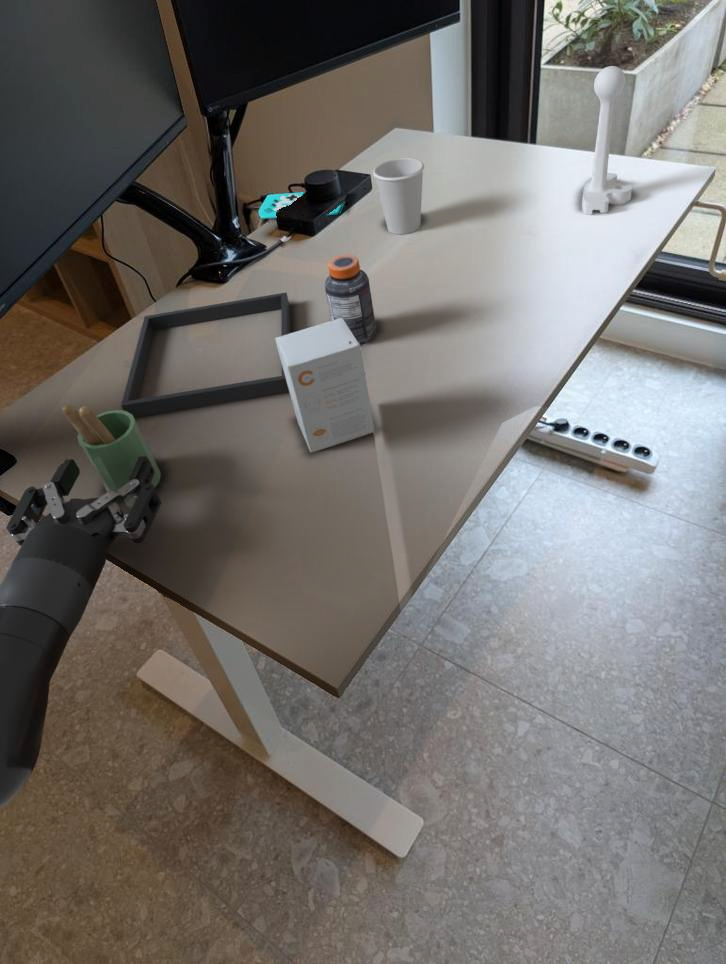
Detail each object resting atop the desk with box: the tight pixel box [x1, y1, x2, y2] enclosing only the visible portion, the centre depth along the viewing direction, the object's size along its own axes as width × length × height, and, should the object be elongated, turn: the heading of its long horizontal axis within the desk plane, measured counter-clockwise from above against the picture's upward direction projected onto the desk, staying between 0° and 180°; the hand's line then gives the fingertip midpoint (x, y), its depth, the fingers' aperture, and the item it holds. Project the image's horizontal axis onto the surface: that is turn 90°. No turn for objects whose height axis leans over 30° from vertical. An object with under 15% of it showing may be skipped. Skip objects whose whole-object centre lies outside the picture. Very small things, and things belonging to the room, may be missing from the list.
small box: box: [274, 318, 376, 453], centre depth 77 cm, size 8×6×13 cm
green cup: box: [76, 409, 162, 502], centre depth 77 cm, size 6×6×9 cm
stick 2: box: [78, 405, 116, 444], centre depth 73 cm, size 1×1×14 cm
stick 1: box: [61, 403, 103, 445], centre depth 74 cm, size 1×1×14 cm
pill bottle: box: [324, 254, 377, 346], centre depth 92 cm, size 6×6×11 cm
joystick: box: [581, 65, 633, 216], centre depth 107 cm, size 11×8×20 cm
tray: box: [120, 292, 291, 419], centre depth 95 cm, size 22×22×3 cm
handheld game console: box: [258, 191, 346, 219], centre depth 128 cm, size 10×16×1 cm, turn 81°
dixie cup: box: [372, 157, 425, 235], centre depth 114 cm, size 8×8×10 cm
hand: (109, 463), depth 74 cm, fingers open, 8 cm apart
